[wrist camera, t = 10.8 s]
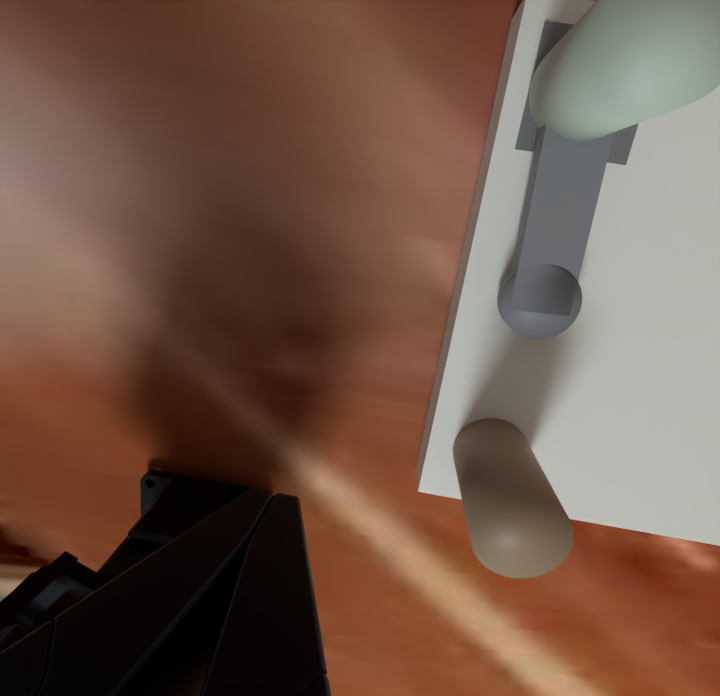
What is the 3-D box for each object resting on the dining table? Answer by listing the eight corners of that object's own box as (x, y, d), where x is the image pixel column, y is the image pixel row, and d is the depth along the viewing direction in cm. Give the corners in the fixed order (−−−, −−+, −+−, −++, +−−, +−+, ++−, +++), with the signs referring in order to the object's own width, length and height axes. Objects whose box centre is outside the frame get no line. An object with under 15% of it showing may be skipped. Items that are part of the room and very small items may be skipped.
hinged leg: (569, 338, 16) (642, 393, 11) (485, 329, 16) (521, 379, 11) (643, 37, 13) (784, -63, 8) (540, 31, 13) (618, -71, 8)
